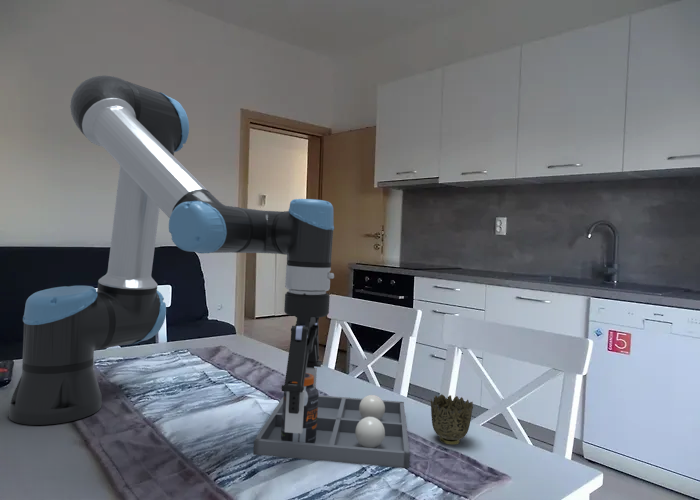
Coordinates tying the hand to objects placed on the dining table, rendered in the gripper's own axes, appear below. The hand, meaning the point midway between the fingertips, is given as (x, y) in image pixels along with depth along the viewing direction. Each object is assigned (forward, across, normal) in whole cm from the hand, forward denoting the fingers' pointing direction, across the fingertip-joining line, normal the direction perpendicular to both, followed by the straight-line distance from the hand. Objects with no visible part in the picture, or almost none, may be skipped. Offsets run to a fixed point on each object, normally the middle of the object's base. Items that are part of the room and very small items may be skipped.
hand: (301, 416), depth 82 cm
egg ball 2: (+4, 0, -12) cm, 13 cm away
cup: (+5, +6, -26) cm, 27 cm away
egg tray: (+5, +6, -6) cm, 10 cm away
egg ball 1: (+4, +12, -12) cm, 17 cm away
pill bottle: (+4, 0, 0) cm, 4 cm away
